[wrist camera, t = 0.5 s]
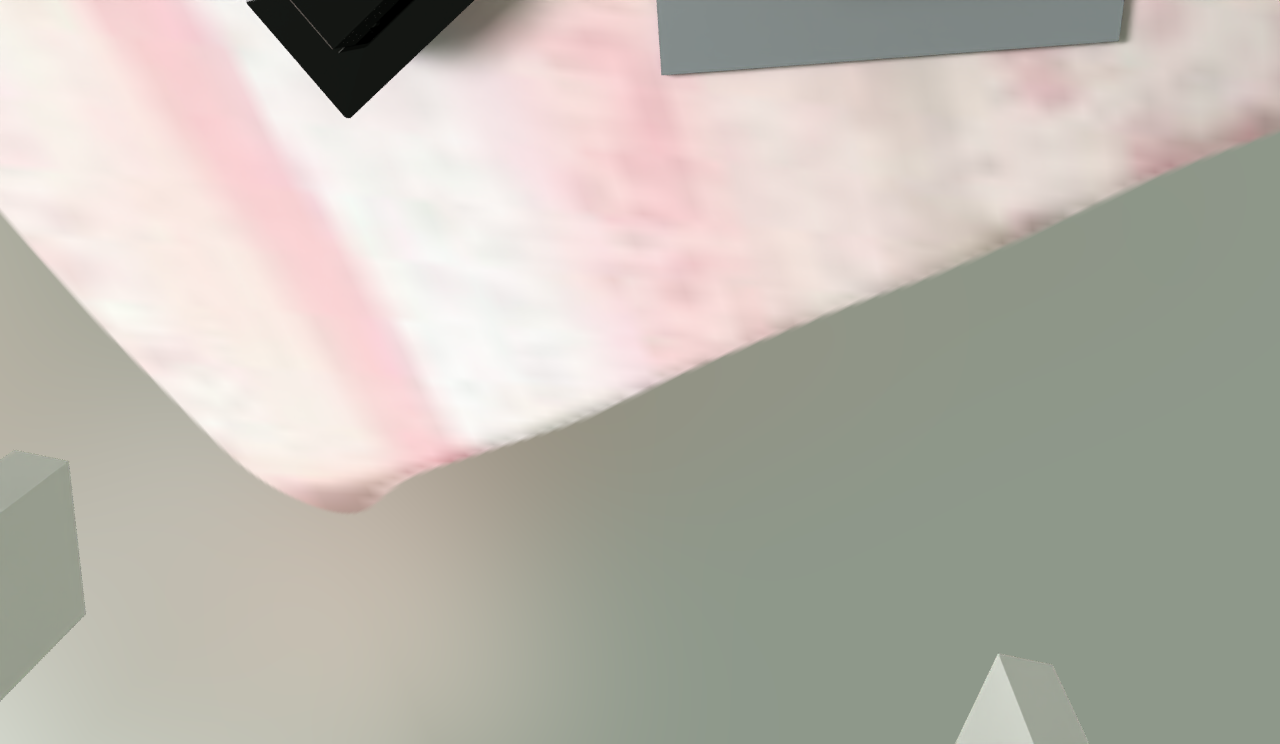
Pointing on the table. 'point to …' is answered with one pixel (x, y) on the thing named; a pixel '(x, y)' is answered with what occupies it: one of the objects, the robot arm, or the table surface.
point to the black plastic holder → (355, 40)
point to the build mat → (867, 29)
